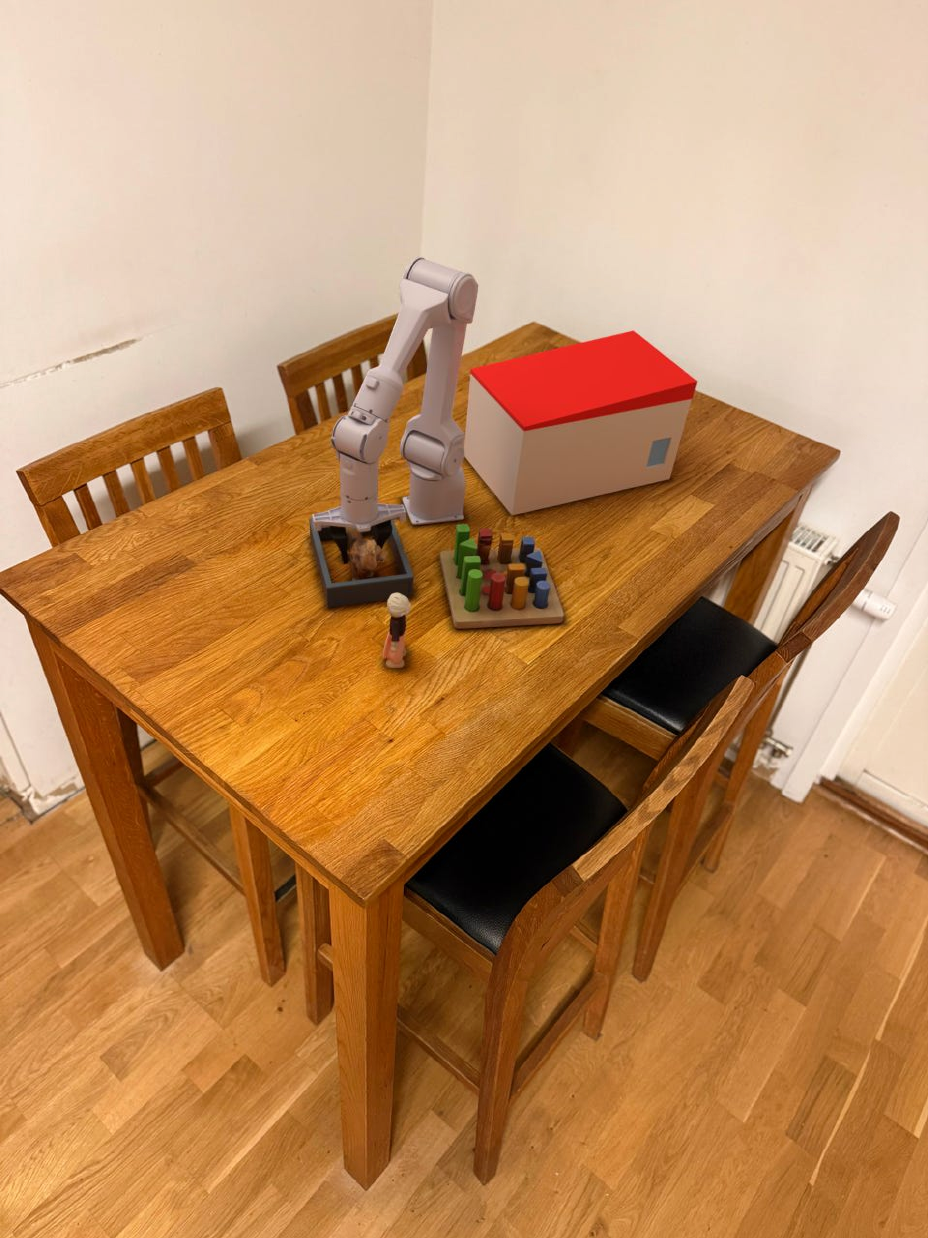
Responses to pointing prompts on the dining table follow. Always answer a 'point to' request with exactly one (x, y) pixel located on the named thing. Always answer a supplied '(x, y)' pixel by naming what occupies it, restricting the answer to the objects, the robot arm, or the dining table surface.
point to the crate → (368, 587)
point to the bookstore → (576, 421)
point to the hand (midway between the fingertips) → (359, 558)
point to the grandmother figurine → (396, 630)
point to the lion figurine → (363, 553)
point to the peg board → (498, 582)
